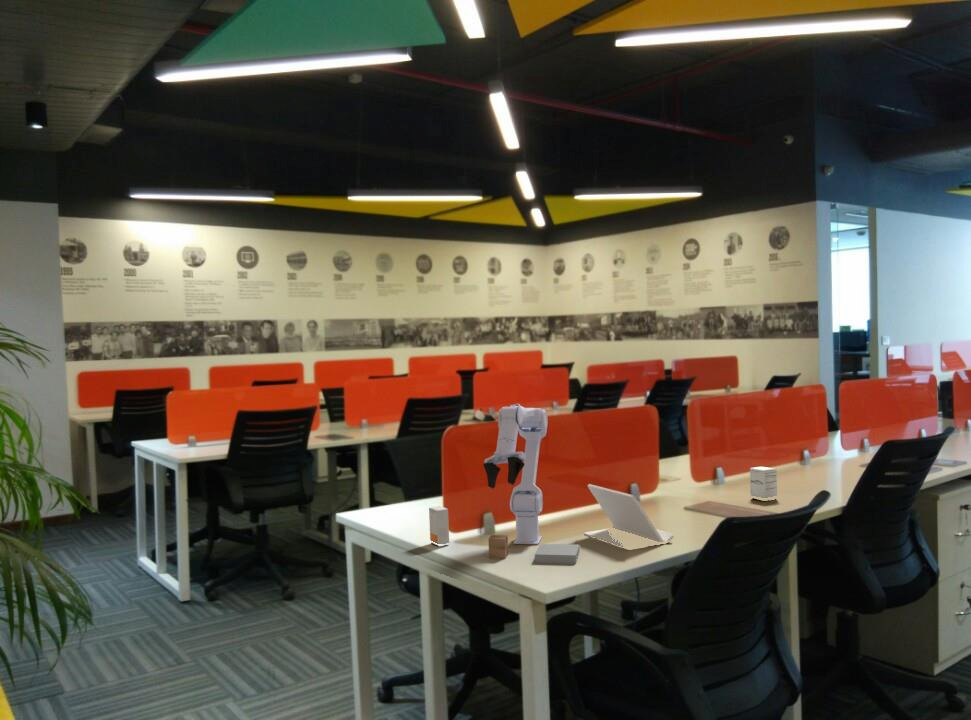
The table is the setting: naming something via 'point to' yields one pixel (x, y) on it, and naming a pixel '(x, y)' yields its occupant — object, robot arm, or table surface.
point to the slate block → (557, 553)
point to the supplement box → (763, 482)
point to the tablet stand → (625, 516)
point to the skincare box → (439, 525)
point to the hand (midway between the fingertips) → (500, 485)
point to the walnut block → (498, 546)
